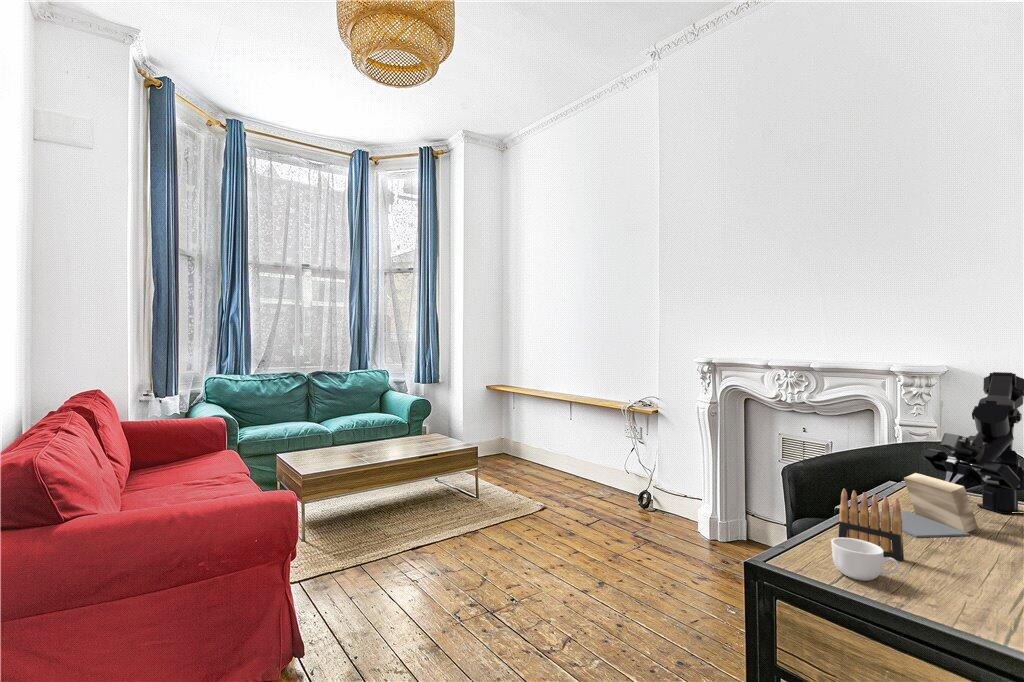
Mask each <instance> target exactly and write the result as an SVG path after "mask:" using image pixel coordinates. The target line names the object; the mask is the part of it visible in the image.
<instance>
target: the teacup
mask: <svg viewBox="0 0 1024 682" xmlns="http://www.w3.org/2000/svg"><path fill="white" fill-rule="evenodd" d="M830 544H831V555H832V561H833V563H834V565H835V567H836V568H837V570H838V571H839V572H840V573H842V575H844V576H845V577H847V576H848V578H850V579H853V580H856V581H864V582H867V581H872V580H875V579H877V578H878V577H879V576H880V575H884V574H886V575H887V574H888V575H889V574H894V573H897V572H898V571H899V570H900V564H899V561H896V560H895V559H893V558H891V557H883V554H884V550H883V549H882V548H881V547H879V546H877V545H875V544H873V543H870V541H869V542H867V541H863V540H859V539H853V538H843V537H840V538H838V537H835V538H831V540H830ZM890 561H891V562H893V563H894V564H895V568H894V569H891V570H888V569H884V568H883V567H884V565H885V564H886V563H887V562H890Z"/></svg>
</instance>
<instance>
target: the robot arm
mask: <svg viewBox="0 0 1024 682" xmlns="http://www.w3.org/2000/svg"><path fill="white" fill-rule="evenodd" d="M982 389H983V392H984V394H985V395H987V396H986V397H982V398H980V399H979V400H978V404H977V405H974V407H973V409H972V412H971V418H972V420H974V423H975V424H974V425H975V429H976V431H977V433H976V434H975V435H969V436H967V437H966V436H963V435H959V434H953V433H947V432H945V433H944V434H943V435H942V438H941V441H940V443H939V445H940V447H942V448H943V447H944V448H946V449H949V450H950V454H951V455H952V456H949V455H948V454H947V453H946V452H945V451H943V450H938V449H935V448H925V450H924V451H923V452H922V454H921V456H922V457H923V459H925V460H926V462H928V464H929V465H930V466H931V467H932V468H933V469H934V470H935V471H936V472H941V473H944V474H945V478H944V479H945V480H944V481H947V482H950V483H954V484H958V485H961V486H964V487H965V490H968V489H972V488H975V487H978V486H979V487H980V486H983V488H982V489H983V490H982V501H981V502H982V503H977V505H976V506H977V507H978V508H979V507H980V508H982V509H986V510H989V511H992V512H995V511H996V513H998V512H1000V513H999V514H1002V513H1012V512H1024V510H1021V509H1019V491H1020V492H1023V491H1024V466H1021V465H1020V458H1019V456H1018V453H1017V451H1016V450H1013V446H1014V444H1013V442H1014V439H1015V438H1014V429H1015V428H1014V427H1015V424H1019V423H1020V422H1021V420H1022V418H1023V417H1022V415H1023V414H1022V413H1021V412H1020V410H1019V408H1020V407H1021V406H1023V405H1024V378H1023V377H1020V376H1017V374H1016V373H1013V372H1007V371H1006V372H1003V371H1001V372H1000V371H997V372H996V371H993V372H990V373H989V375H987V376H984V377H983V388H982Z"/></svg>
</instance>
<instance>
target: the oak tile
mask: <svg viewBox="0 0 1024 682" xmlns="http://www.w3.org/2000/svg"><path fill="white" fill-rule="evenodd" d="M903 480H904V483H905V486H906V488H907V492H908V495H909V497H910V501H911V504H912V506H913V510H914V512H915V513H914V514H917V515H920V516H923V517H925V518H928V519H931V520H933V521H936V522H939V523H942V524H944V525H947V526H950V527H952V528H955V529H958V530H961V531H963V532H966V533H970V532H972V531H974V530H977V529H978V528H979V525H978V523H977V520H976V517H975V514H974V511H973V509H972V506H971V502H970V500H969V496H968V494H967V489H965V487H964V486H961V485H958V484H954V483H950V482H947V481H945V480H944V479H943V480H942V479H939V478H937V477H936V478H935V477H932V476H927V475H926V474H922V473H917V472H914V473H912V474H910V475H908V476H905V477H903Z"/></svg>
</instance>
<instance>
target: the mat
mask: <svg viewBox="0 0 1024 682" xmlns="http://www.w3.org/2000/svg"><path fill="white" fill-rule="evenodd" d="M881 514H882V511H879V516H880V523H881ZM892 516H893V511H890V518H891V528H892ZM869 517H870V512H869ZM901 519H902V531H903V532H902V533H905V534H907V535H909V536H912V537H914V538H936V537H937V538H938V537H941V538H942V537H943V538H945V537H971V533H970V532H968V533H966V532H963V531H961V530H958V529H955V528H952V527H950V526H947V525H944V524H942V523H939V522H936V521H933V520H931V519H928V518H925V517H923V516H920V515H917V514H916V513H914V512H911V511H901Z"/></svg>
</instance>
